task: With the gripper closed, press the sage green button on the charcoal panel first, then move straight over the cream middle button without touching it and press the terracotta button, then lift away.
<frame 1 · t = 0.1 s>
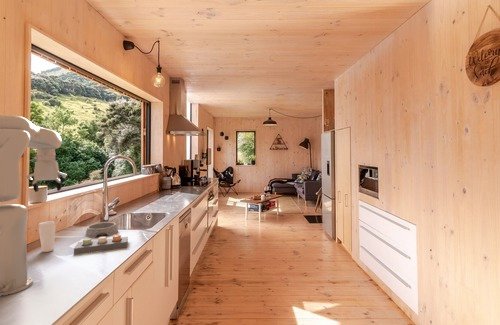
hand: (47, 190, 140), 31 cm above the countertop, tool pointing down, fingers open, 9 cm apart
terracotta button: (116, 238, 144), point 4 cm above the countertop, slide at 0.0 cm
button panel: (102, 247, 142), on the countertop
cream button: (102, 240, 142), point 4 cm above the countertop, slide at 0.0 cm
sage button: (87, 242, 139), point 4 cm above the countertop, slide at 0.0 cm
drinking glass: (48, 251, 138), on the countertop
dog bowl: (102, 233, 169), on the countertop
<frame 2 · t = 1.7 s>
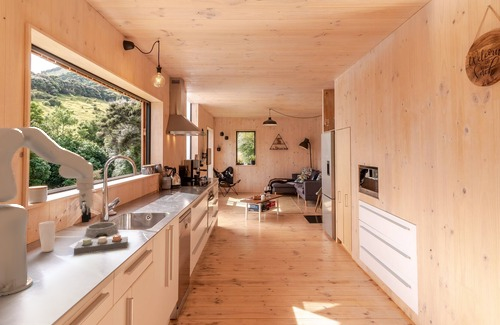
hand: (86, 220, 139), 15 cm above the countertop, tool pointing down, fingers open, 4 cm apart
nothing on the countertop moved.
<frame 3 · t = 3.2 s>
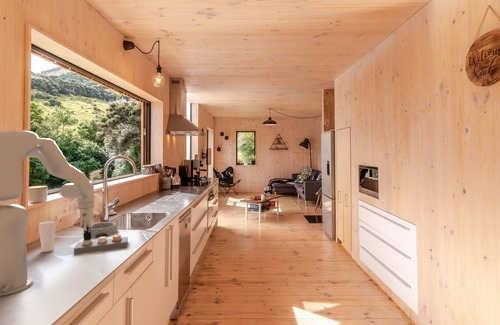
hand: (87, 239, 139), 5 cm above the countertop, tool pointing down, fingers closed
sage button: (87, 242, 139), point 4 cm above the countertop, slide at 0.2 cm, touching gripper
everything else where it was.
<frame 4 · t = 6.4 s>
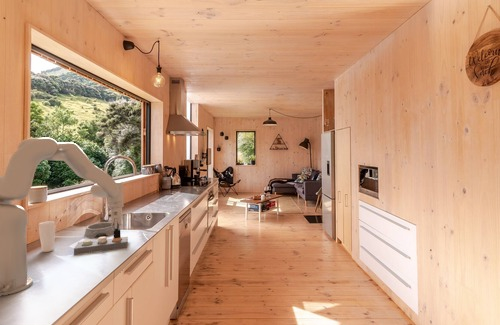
hand: (117, 237, 144), 5 cm above the countertop, tool pointing down, fingers closed
terracotta button: (116, 240, 144), point 3 cm above the countertop, slide at 0.8 cm, touching gripper
sage button: (87, 244, 139), point 3 cm above the countertop, slide at 0.9 cm
everything else where it was.
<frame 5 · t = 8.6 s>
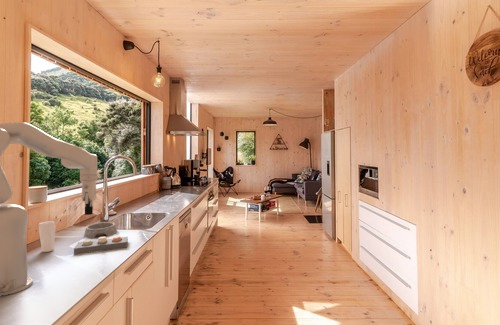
hand: (88, 214, 134), 20 cm above the countertop, tool pointing down, fingers closed
terracotta button: (116, 240, 144), point 3 cm above the countertop, slide at 0.9 cm
everything else where it was.
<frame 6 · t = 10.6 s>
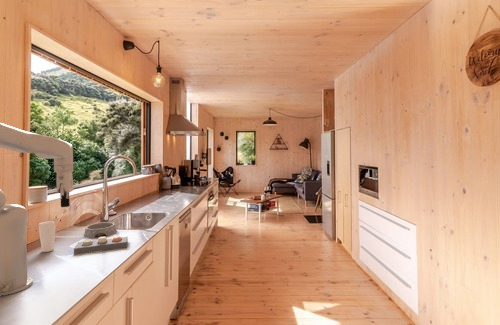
hand: (65, 206, 127), 25 cm above the countertop, tool pointing down, fingers closed
nothing on the countertop moved.
at the end: sage button slide at 0.9 cm; terracotta button slide at 0.9 cm; cream button slide at 0.0 cm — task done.
